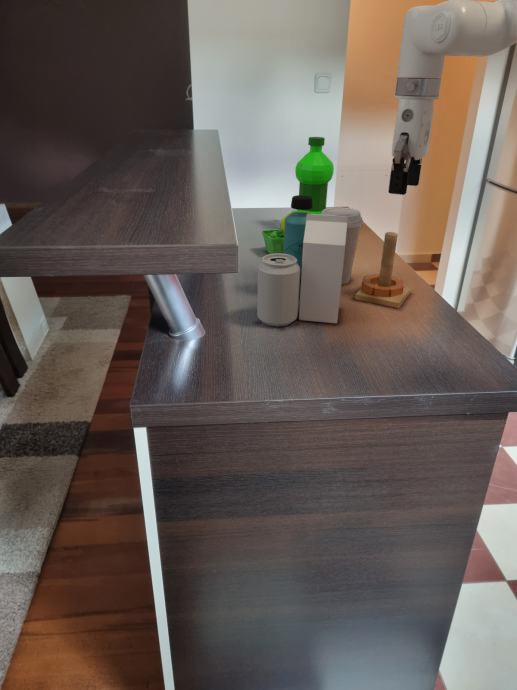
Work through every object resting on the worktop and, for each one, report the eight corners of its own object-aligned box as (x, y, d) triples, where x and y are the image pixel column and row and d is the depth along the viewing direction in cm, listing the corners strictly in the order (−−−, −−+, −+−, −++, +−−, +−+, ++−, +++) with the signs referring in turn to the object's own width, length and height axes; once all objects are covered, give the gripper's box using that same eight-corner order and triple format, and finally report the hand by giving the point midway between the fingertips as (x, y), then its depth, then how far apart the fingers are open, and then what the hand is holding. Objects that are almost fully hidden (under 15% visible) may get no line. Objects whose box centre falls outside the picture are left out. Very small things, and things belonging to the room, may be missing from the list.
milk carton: (337, 324, 94) (347, 221, 85) (298, 320, 95) (304, 219, 86) (338, 308, 100) (348, 211, 91) (302, 305, 102) (308, 209, 92)
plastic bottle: (303, 237, 142) (309, 141, 130) (287, 227, 151) (291, 136, 139) (335, 233, 146) (343, 139, 134) (317, 224, 154) (323, 134, 142)
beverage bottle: (273, 293, 107) (277, 195, 97) (295, 285, 111) (301, 191, 101) (296, 303, 103) (302, 201, 93) (318, 294, 107) (326, 196, 97)
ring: (402, 283, 109) (404, 276, 109) (402, 298, 102) (403, 291, 101) (363, 279, 111) (363, 272, 110) (359, 294, 104) (360, 286, 103)
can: (292, 310, 100) (295, 250, 94) (301, 327, 93) (305, 264, 87) (254, 312, 98) (254, 251, 93) (260, 329, 92) (262, 266, 86)
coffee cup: (309, 284, 111) (314, 215, 104) (317, 269, 119) (322, 204, 112) (354, 289, 109) (362, 219, 102) (358, 274, 117) (366, 208, 110)
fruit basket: (300, 245, 135) (303, 202, 130) (315, 256, 128) (318, 211, 123) (260, 250, 132) (260, 205, 126) (273, 261, 124) (274, 214, 119)
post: (409, 293, 108) (420, 231, 102) (398, 308, 101) (408, 243, 95) (368, 285, 112) (375, 225, 105) (354, 299, 105) (362, 236, 98)
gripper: (428, 91, 82) (412, 200, 90) (448, 89, 96) (433, 183, 104) (382, 90, 85) (371, 195, 93) (408, 88, 99) (396, 180, 107)
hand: (403, 189), depth 98 cm, fingers open, 9 cm apart
